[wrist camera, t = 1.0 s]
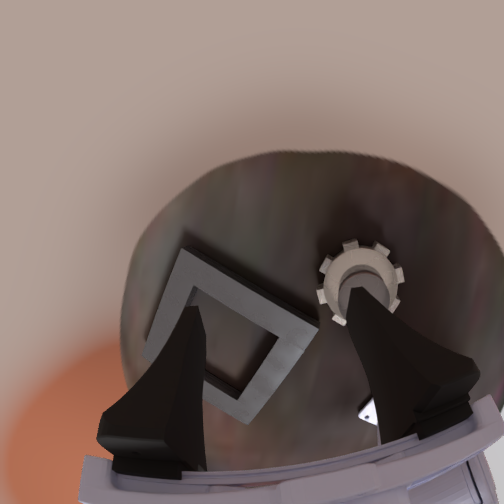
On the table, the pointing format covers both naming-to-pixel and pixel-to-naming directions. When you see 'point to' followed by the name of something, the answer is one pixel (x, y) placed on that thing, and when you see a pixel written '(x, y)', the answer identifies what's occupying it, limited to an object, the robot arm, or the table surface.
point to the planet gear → (359, 277)
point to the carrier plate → (247, 304)
